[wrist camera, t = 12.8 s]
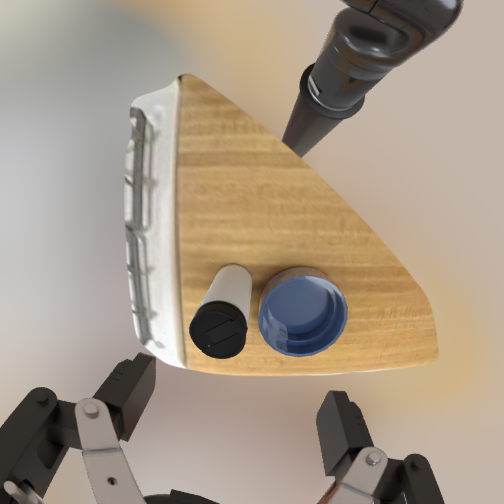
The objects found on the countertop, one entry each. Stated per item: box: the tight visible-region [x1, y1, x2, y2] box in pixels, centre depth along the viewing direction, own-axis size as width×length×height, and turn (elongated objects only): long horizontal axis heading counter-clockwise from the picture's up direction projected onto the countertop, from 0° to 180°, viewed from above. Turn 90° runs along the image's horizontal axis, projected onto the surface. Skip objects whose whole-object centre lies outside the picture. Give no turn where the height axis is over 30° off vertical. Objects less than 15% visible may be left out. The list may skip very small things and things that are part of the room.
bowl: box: [258, 267, 347, 357], centre depth 44 cm, size 14×14×6 cm
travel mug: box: [189, 264, 252, 359], centre depth 37 cm, size 6×7×20 cm
